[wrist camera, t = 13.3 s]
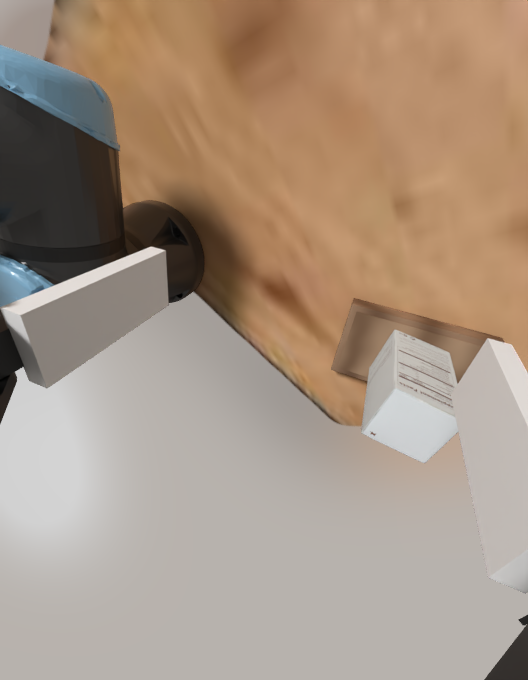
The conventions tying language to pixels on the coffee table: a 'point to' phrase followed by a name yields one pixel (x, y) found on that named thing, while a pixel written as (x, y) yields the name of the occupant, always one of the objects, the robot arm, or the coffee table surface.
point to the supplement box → (410, 397)
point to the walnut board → (379, 323)
